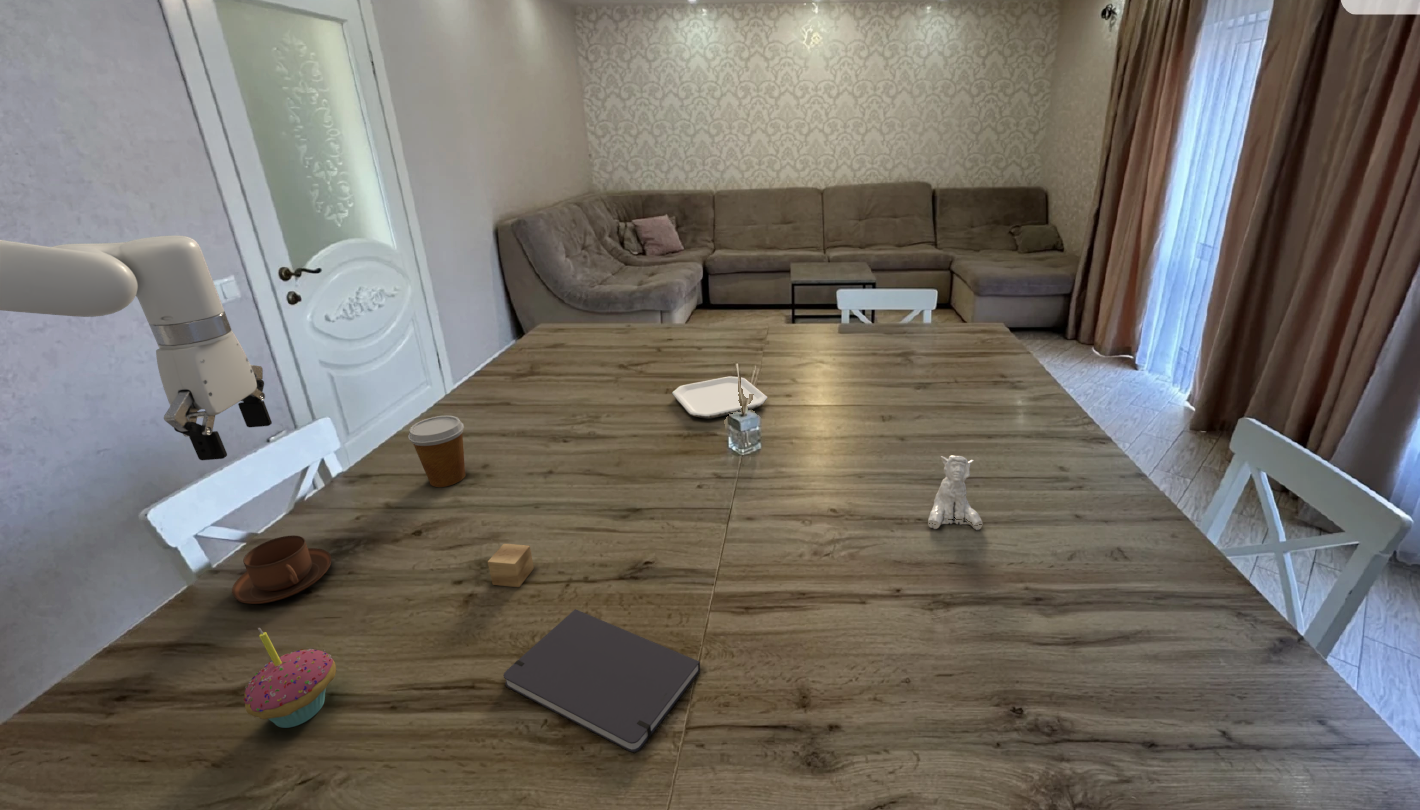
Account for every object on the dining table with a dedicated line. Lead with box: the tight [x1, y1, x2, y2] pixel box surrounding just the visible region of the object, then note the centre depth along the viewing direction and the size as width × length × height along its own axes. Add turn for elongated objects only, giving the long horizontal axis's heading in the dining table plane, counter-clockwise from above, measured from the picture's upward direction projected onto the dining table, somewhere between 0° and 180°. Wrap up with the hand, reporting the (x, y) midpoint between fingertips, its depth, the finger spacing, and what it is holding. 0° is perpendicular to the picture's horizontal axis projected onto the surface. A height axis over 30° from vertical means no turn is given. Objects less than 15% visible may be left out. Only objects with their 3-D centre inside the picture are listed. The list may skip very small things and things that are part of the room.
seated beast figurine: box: [927, 455, 984, 531], centre depth 108 cm, size 10×9×12 cm
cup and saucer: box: [231, 535, 332, 605], centre depth 93 cm, size 12×12×6 cm
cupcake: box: [243, 627, 337, 729], centre depth 71 cm, size 9×8×12 cm
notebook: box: [503, 608, 701, 753], centre depth 77 cm, size 13×2×21 cm
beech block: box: [487, 543, 535, 588], centre depth 95 cm, size 4×4×4 cm
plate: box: [671, 375, 768, 420], centre depth 157 cm, size 21×21×2 cm
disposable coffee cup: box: [407, 415, 466, 488], centre depth 120 cm, size 10×10×12 cm
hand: (238, 441), depth 89 cm, fingers open, 9 cm apart
